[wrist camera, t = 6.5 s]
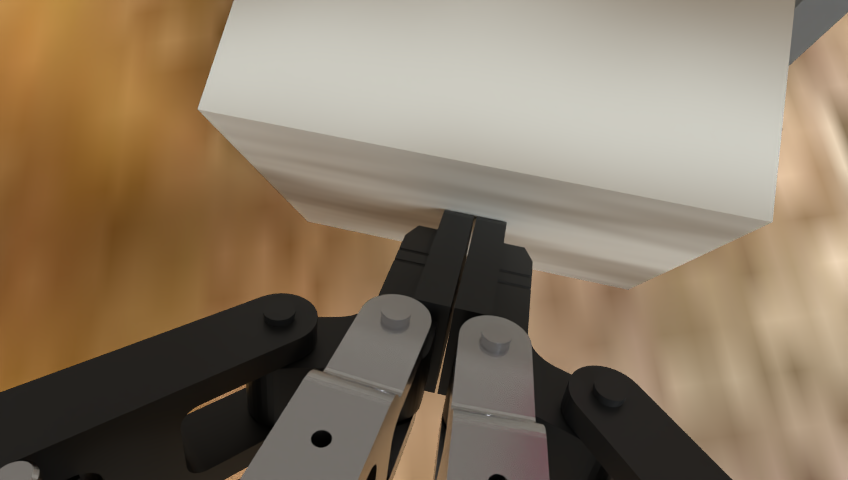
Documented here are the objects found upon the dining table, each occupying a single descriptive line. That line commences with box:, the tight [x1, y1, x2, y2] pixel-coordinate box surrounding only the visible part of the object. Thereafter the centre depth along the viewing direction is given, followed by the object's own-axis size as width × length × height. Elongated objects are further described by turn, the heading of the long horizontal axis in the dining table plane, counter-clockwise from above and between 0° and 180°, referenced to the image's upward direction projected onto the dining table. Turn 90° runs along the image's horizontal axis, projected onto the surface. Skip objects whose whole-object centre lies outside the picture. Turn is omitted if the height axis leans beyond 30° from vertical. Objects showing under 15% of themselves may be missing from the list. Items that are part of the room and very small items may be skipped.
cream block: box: [198, 0, 795, 290], centre depth 15 cm, size 10×10×8 cm
